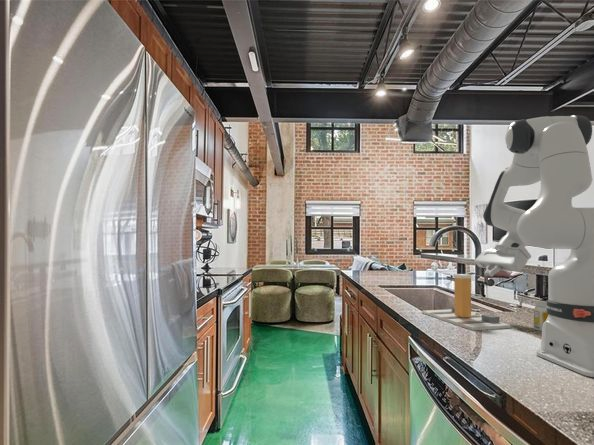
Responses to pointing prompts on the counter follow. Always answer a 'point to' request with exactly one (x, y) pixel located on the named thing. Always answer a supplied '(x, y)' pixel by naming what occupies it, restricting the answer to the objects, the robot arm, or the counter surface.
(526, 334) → the counter surface
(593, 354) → the robot arm
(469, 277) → the glass of beer
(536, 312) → the supplement bottle
